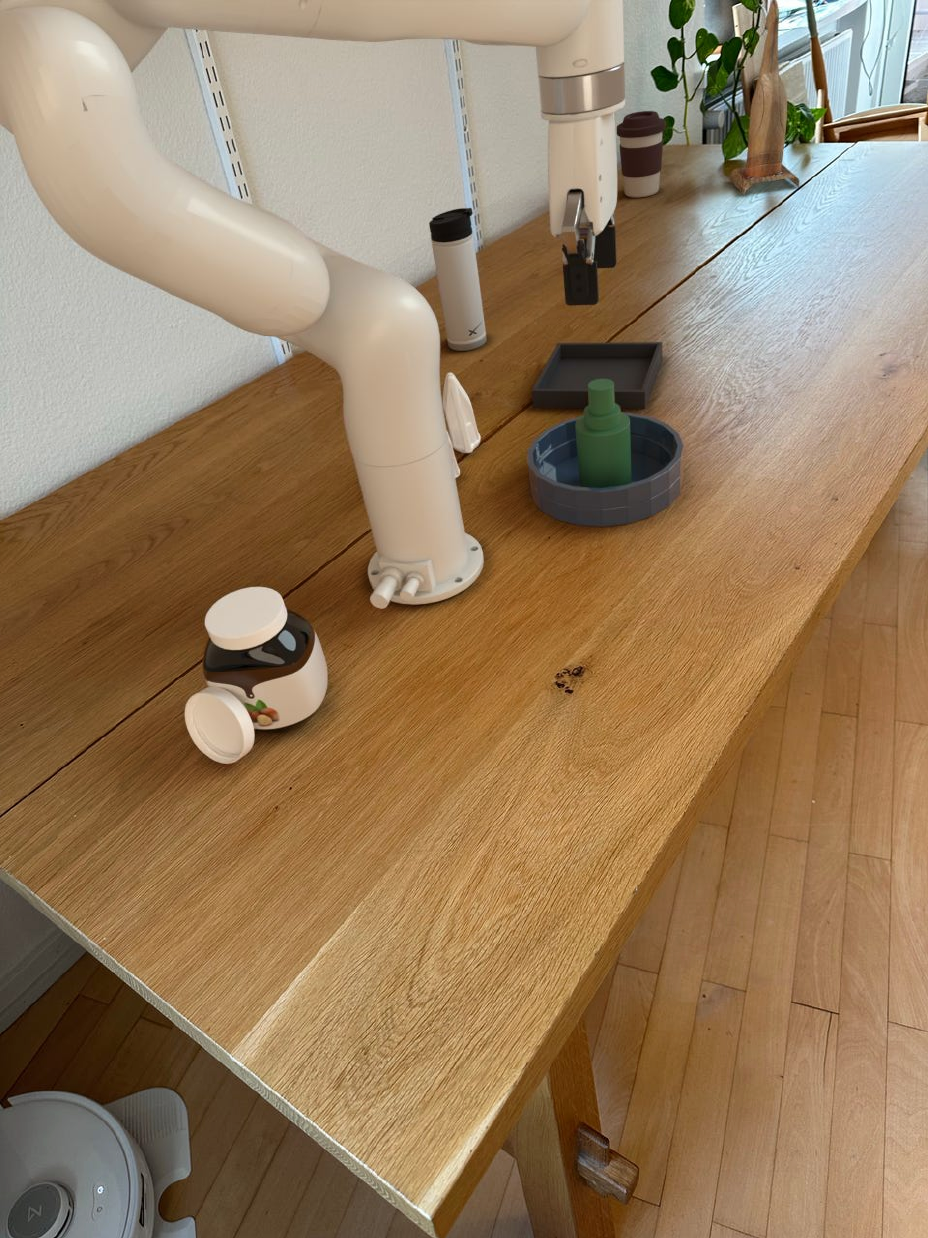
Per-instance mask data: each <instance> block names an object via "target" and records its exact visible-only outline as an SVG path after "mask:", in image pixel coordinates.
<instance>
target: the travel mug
mask: <svg viewBox="0 0 928 1238" xmlns="http://www.w3.org/2000/svg"><path fill="white" fill-rule="evenodd" d="M473 214H474V213H473V208H472V207H466V208H465V207H461V208H455V209H451V210H448V211H444V212H442V213H439V214H437V215H435V216H433V217H432V218H431V219H432V220H430V221H429V223H428V225H429V226H428V227H429V232H430V241H431V247H432V253H433V258H434V259H433V260H434V265H435V266H434V267H435V272H436V278H437V285H438V290H439V296H440V303H441V309H442V316H443V322H444V328H445V335H446V339H447V346H448V347H449V349H451V350H453V351H457V352H468V351H473V350H476V349H479V348H481V347H483V346H484V345H485V344H486V342H487V331H486V323H485V316H484V315H485V314H484V308H483V299H482V292H481V285H480V276H479V269H478V262H477V254H476V245H475V239H474V232H473V228H472V220H471V217H472V215H473Z"/></svg>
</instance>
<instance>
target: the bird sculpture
mask: <svg viewBox="0 0 928 1238" xmlns="http://www.w3.org/2000/svg"><path fill="white" fill-rule="evenodd" d="M779 22H780V9H779V4H778V1H777V0H771V2H770V4H769V8H768V12H767V14H766V17H765V24H764V29H765V31H767V33H766V37H765V41H764V46H763V50H762V51H763V52H762V58H761V63H760V68H759V73H758V78H757V82H756V86H755V90H754V93H753V97H752V101H751V106H750V114H749V115H750V116H749V128H748V141H747V143H748V144H747V153H746V160H745V161H746V162H745V167H741V168H740V167H738V168H734V169H733V170H732V171H731V173H730V175H729V181H730V182H731V183H732V184H733V186H734V187H735V188H736V190H738V191H740V192H741V194H742V195H743V196H745V194H746V192H747V190H749V189H750V188H751V187H753V186H754V185H756V184H760V183H764V182H772V181H778V180H786V179H788V180H790V182H792V183H793V184H794V185H795V186H796V187H797V188H800V178H798V177H797V175H795V174H794V173H792V172H791V171H790V170H789V169H788V168H787V167H786V166H785V165H784V164H783V158H784V149H785V140H786V131H787V129H786V128H787V120H788V114H787V113H788V97H787V93H786V90H785V87H784V83H783V80H782V78H781V75H780V69H779V27H780V26H779V24H780V23H779Z"/></svg>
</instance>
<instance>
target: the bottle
mask: <svg viewBox="0 0 928 1238" xmlns="http://www.w3.org/2000/svg"><path fill="white" fill-rule="evenodd" d="M588 401H589V405H588V406H587V407H586V408H583V414H582V415H580V416H581V417H580V416H579V417H580V418H578V420H577V421H576V424H575V427H576V442H577V456H578V471H579V485H580V487H590V488H606V487H614V486H622V485H627V484H630V483H632V480H631V440H630V419H629V417H628V416H627V415H626V414H625V413H626V412H623V411H621V409H620V406H619V405H618V404H616V403H615V399H614V382H613V381H612V380H609V379H596V380H593V381H591V382H590V383H589V384H588Z"/></svg>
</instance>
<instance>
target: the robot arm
mask: <svg viewBox="0 0 928 1238" xmlns="http://www.w3.org/2000/svg"><path fill="white" fill-rule="evenodd" d="M169 28H174V29H183V30H193V31H194V30H196V31H206V32H207V31H208V32H220V33H236V34H251V35H263V36H264V35H265V36H275V37H276V36H278V37H292V38H304V39H314V40H315V39H317V40H326V41H341V42H344V41H345V42H346V41H347V42H363V43H364V42H365V43H380V42H393V41H405V40H424V39H425V40H431V39H432V40H453V41H454V40H455V41H457V40H458V41H463V42H466V43H470V44H473V45H480V46H499V47H500V46H501V47H502V46H505V47H506V46H513V47H530V48H531V47H532V48H535V56H536V57H535V58H536V68H537V80H538V90H539V91H538V94H539V105H540V116H541V119H542V120H544V121H548V131H547V134H548V135H547V180H548V183H547V185H548V207H549V230H550V234H551V235H552V236H553V238H555V239H559V238H560V237H561V236H562V240H563V243H562V247H561V251H562V257H561V258H562V275H563V288H564V302H565V304H566V305H567V306H569V307H570V306H571V307H572V306H595V305H597V304H598V303H599V299H600V293H599V274H598V273H599V272H598V271H599V270H598V269H613V268H615V267H616V265H617V261H618V260H617V235H616V232H617V231H616V226H615V212H614V211H616V207H617V203H618V157H617V156H618V155H617V154H618V153H617V133H616V121H615V120H616V119H615V113H616V112H618V111H620V110H622V109H623V108H625V106H626V80H625V39H624V38H625V37H624V36H625V35H624V32H625V31H624V0H0V126H1V127H3V129H5V130H7V131H8V132H9V133H11V134H12V135H13V137H14V140H15V145H16V147H17V151H18V153H19V155H20V159H21V161H22V164H23V166H24V167H23V168H24V170H25V172H26V175H27V177H28V179H29V181H30V184H31V186H32V187H33V190H34V191H35V193H36V195H37V196H38V198H39V201H41V203H42V205H43V206H44V207H45V209H46V210H47V212H48V213H49V215H50V217H52V219H53V220H54V221H55V222H56V224H57V225H58V226H59V227H60V228H61V229H62V231H63V232H64V233H65V234H66V235H67V236H69V238H71V240H73V241H74V242H75V243H76V244H77V245H78V246H79V247H81V248H82V249H83V250H85V251H86V252H88V253H89V254H90V255H92V256H93V257H95V258H97V259H99V260H100V261H102V262H104V263H105V264H107V265H109V266H110V267H113V268H115V269H117V270H119V271H121V272H123V273H125V274H128V275H129V276H132V277H133V278H136V279H138V280H140V281H142V282H145V283H146V284H149V285H151V286H153V287H155V288H157V289H159V290H161V291H163V292H165V293H167V294H169V295H171V296H173V297H175V298H178V299H180V300H183V301H185V302H187V303H188V304H192V305H193V306H196V307H198V308H200V309H202V310H205V311H207V312H210V313H212V314H214V315H216V316H218V317H219V318H220V319H222V320H224V321H225V322H227V323H229V324H230V325H232V326H234V327H236V328H238V329H240V330H243V331H245V332H247V333H251V334H255V335H258V336H262V337H272V338H273V337H274V338H277V339H279V340H282V341H284V342H286V343H289V344H291V345H293V346H295V347H298V348H299V349H302V350H303V351H306V352H308V353H310V354H311V355H313V356H315V357H316V358H318V359H319V360H321V361H323V362H324V363H325V364H326V365H327V366H330V367H331V368H333V369H334V370H335V371H336V372H337V373H338V375H339V378H340V381H341V386H342V393H343V395H342V396H343V401H342V402H343V403H342V410H343V411H342V412H343V424H344V428H345V434H346V438H347V442H348V446H349V450H350V454H351V457H352V459H353V463H354V468H355V472H356V475H357V479H358V483H359V486H360V491H361V494H362V499H363V502H364V506H365V511H366V513H367V519H368V521H369V525H370V530H371V533H372V537H373V542H374V545H375V549H376V552H375V553H373V555H372V556H371V558H370V560H369V562H368V566H367V577H368V581H369V583H370V585H371V588H372V590H373V591H372V593H371V595H370V598H369V602H370V603H371V605H372V606H373V607H374V608H376V609H381V610H383V609H386V608H387V607H388V606H389V604H390V603H391V602H393V603H397V604H401V605H413V606H414V605H426V604H432V603H437V602H440V601H443V600H447V599H449V598H452V597H454V596H456V595H458V594H460V593H461V592H463V591H465V590H466V589H468V588H469V587H470V586H471V585H472V584H473V583H475V581H476V580H477V578H479V576H480V574H481V572H482V570H483V568H484V563H485V560H484V551H483V549H482V545H481V543H479V541H478V539H476V538H475V537H474V536H472V535H471V534H468V533H467V532H466V531H465V526H464V521H463V515H462V510H461V509H462V508H461V503H460V498H459V492H458V486H457V481H456V480H457V479H456V478H455V474H454V468H453V463H452V457H451V451H450V445H449V440H448V434H449V433H448V434H447V432H448V430H447V423H446V417H445V413H444V408H443V403H442V402H443V397H442V391H441V373H440V371H441V370H440V368H441V367H440V366H441V365H440V364H441V335H440V328H439V324H438V319H437V317H436V315H435V313H434V310H433V308H432V307H431V305H430V303H429V302H428V300H427V299H426V298H425V297H424V295H423V294H422V293H421V292H419V290H418V289H416V287H414V286H413V285H411V284H410V283H409V282H407V281H406V280H404V279H401V277H398V276H397V275H394V274H392V273H389V272H386V271H385V270H382V269H379V268H377V267H374V266H372V265H369V264H366V263H363V262H360V261H358V260H356V259H353V258H351V257H349V256H347V255H345V254H343V253H340V252H338V251H337V250H334V249H332V248H330V247H328V246H326V245H324V244H323V243H322V242H321V243H320V242H318V241H317V240H316V239H313V238H311V237H310V236H308V235H306V234H305V233H304V232H303V231H302V230H301V229H300V228H298V227H297V226H296V225H295V224H293V223H292V222H291V221H289V220H287V219H285V218H284V217H282V216H280V215H279V214H276V213H274V212H272V211H269V210H267V209H265V208H262V207H259V206H257V205H254V204H252V203H250V202H246V201H243V200H240V199H239V198H236V197H235V196H234V195H231V194H230V193H227V192H226V191H223V190H222V189H220V188H219V187H216V186H214V185H212V184H211V183H209V182H208V181H206V180H204V179H203V178H202V177H199V176H198V175H196V174H195V173H193V172H191V171H189V170H188V169H186V168H184V167H182V166H180V165H179V164H177V163H175V162H174V161H172V160H171V159H169V157H167V156H166V155H165V154H163V152H161V150H160V149H159V148H158V147H157V145H156V144H155V143H154V141H153V139H152V138H151V136H150V134H149V132H148V129H147V128H146V125H145V122H144V118H143V116H142V112H141V108H140V102H139V98H138V97H139V96H138V92H137V88H136V84H135V80H134V76H133V74H132V73H133V72H134V71H135V70H136V68H138V66H139V65H140V64H141V63H142V62H143V60H144V59H145V58H146V57H147V56H148V55H149V53H150V52H151V51H152V49H154V47H155V46H156V44H157V43H158V42H159V40H160V39H161V38H162V36H164V34H165V33H166V31H167V30H168V29H169Z"/></svg>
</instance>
